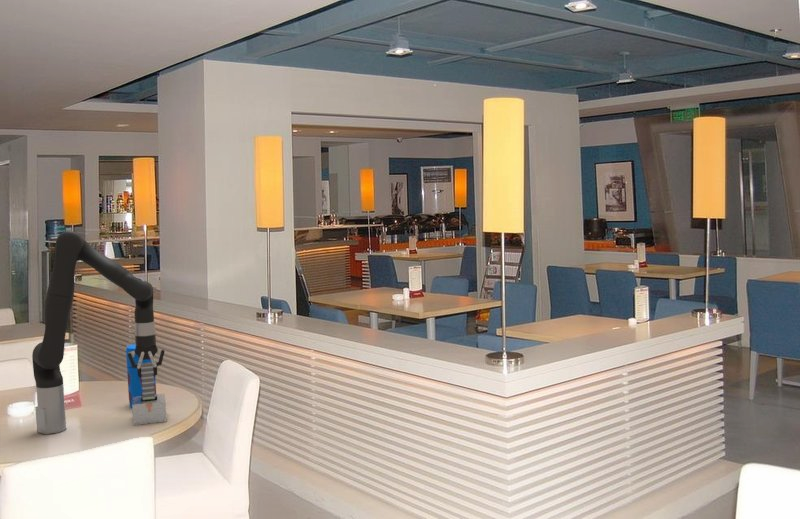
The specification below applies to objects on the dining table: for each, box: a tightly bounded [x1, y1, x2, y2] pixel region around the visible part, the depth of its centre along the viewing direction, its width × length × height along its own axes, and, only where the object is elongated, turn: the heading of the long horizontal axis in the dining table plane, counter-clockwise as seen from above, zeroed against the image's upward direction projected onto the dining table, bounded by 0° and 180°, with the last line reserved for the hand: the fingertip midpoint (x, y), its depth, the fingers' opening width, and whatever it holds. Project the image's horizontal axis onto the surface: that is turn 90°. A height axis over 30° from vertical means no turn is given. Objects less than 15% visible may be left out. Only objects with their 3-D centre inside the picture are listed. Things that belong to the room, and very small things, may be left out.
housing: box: [131, 393, 167, 426], centre depth 304 cm, size 13×12×8 cm
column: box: [141, 362, 155, 401], centre depth 304 cm, size 4×4×16 cm
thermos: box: [125, 343, 157, 410], centre depth 323 cm, size 11×11×25 cm
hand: (147, 376), depth 303 cm, fingers closed on column, 4 cm apart
